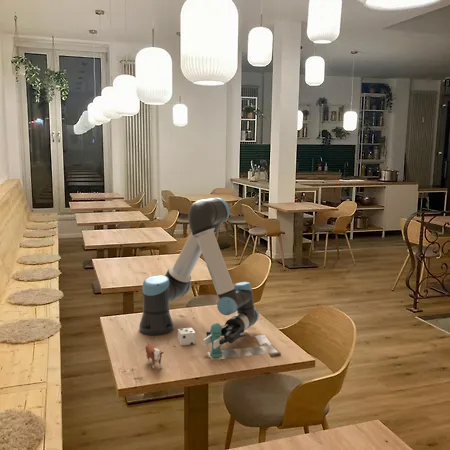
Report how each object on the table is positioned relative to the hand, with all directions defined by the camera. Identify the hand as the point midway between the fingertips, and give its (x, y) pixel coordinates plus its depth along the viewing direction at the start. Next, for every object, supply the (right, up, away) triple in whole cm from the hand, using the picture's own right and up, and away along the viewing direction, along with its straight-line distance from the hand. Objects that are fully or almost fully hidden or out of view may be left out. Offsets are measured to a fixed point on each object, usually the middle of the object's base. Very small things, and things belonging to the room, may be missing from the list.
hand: (209, 344), depth 185 cm
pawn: (+3, -6, +6) cm, 8 cm away
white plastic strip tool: (+22, -5, +22) cm, 31 cm away
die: (-10, -5, +19) cm, 22 cm away
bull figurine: (-20, -8, -2) cm, 22 cm away
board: (+13, -7, +9) cm, 17 cm away
